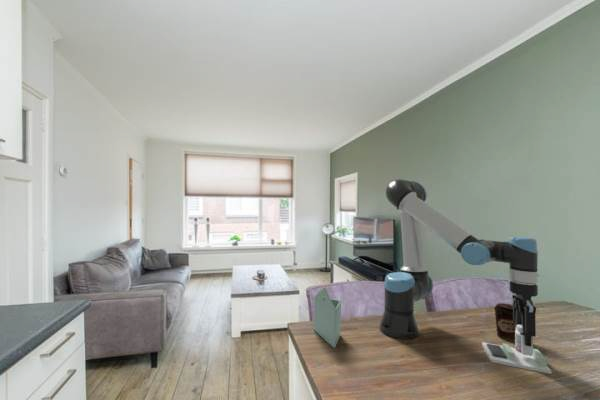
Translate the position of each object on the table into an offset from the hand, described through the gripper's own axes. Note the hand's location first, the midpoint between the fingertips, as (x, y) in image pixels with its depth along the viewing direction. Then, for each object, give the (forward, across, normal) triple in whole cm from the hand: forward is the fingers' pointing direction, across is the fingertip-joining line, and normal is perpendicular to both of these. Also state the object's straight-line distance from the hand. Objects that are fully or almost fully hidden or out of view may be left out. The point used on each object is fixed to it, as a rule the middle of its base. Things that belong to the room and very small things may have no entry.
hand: (523, 350), depth 93 cm
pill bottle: (+1, 0, 0) cm, 1 cm away
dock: (+4, +1, +3) cm, 5 cm away
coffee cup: (+4, +19, 0) cm, 19 cm away
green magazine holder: (+4, -11, +65) cm, 66 cm away
